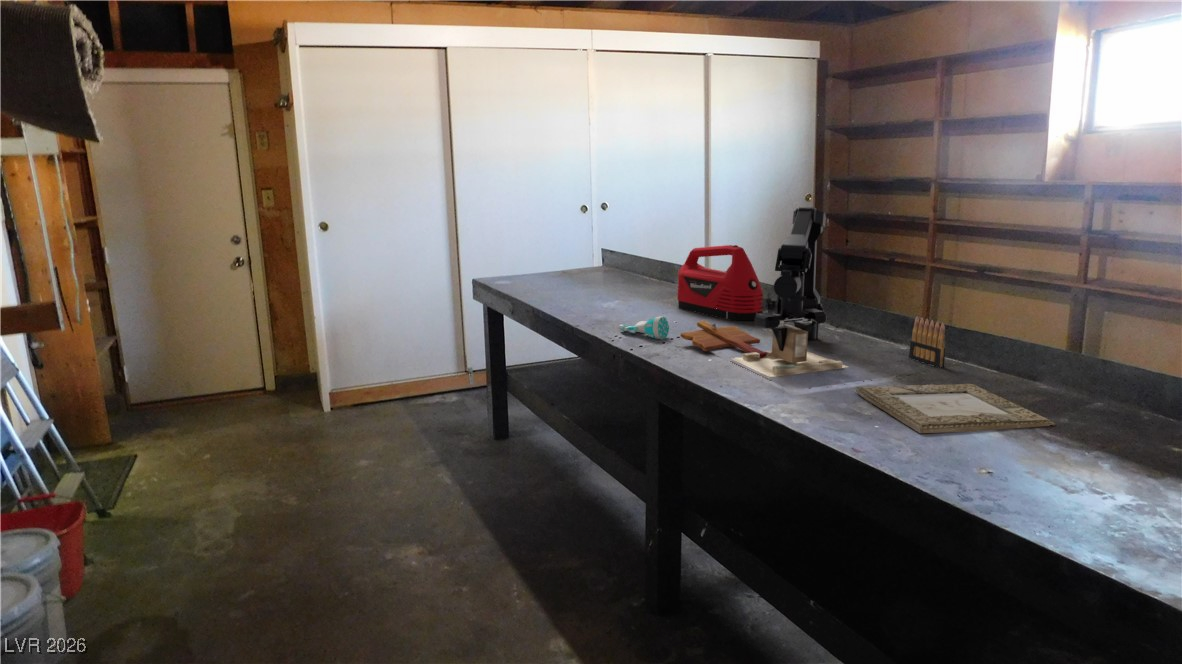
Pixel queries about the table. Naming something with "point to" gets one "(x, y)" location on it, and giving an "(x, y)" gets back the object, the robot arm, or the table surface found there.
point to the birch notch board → (785, 364)
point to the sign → (721, 338)
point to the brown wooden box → (792, 345)
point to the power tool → (720, 285)
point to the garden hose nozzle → (650, 327)
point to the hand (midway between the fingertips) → (789, 349)
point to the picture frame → (950, 408)
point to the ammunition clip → (928, 343)
